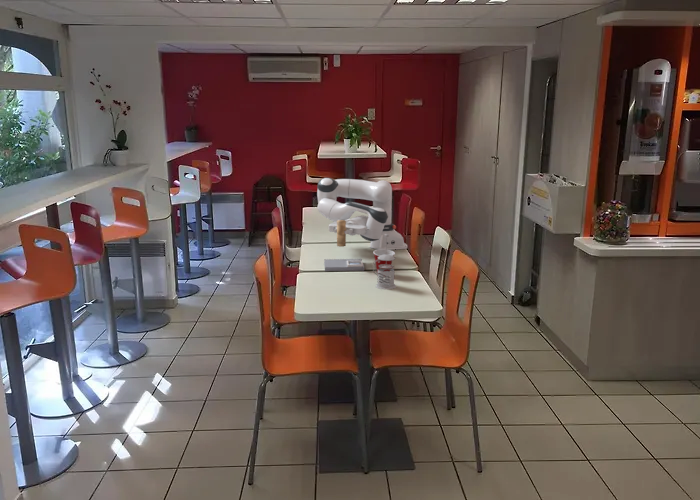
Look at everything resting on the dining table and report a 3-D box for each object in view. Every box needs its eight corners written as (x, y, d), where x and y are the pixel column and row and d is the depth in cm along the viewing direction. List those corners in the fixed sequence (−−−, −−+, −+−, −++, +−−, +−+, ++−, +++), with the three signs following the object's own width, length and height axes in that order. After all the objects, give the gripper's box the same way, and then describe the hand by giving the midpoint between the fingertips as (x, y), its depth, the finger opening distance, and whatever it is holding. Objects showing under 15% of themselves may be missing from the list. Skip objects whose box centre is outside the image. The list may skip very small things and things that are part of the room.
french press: (390, 290, 266) (391, 237, 260) (368, 286, 272) (368, 234, 266) (399, 285, 274) (401, 233, 268) (378, 281, 280) (379, 230, 274)
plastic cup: (379, 279, 284) (380, 255, 281) (368, 273, 293) (369, 250, 290) (398, 276, 289) (399, 252, 286) (387, 271, 298) (387, 248, 295)
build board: (361, 262, 314) (361, 257, 313) (364, 270, 299) (364, 264, 298) (324, 262, 313) (324, 257, 312) (324, 271, 297) (324, 265, 297)
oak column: (344, 244, 305) (344, 219, 302) (346, 246, 301) (346, 221, 298) (336, 244, 305) (336, 220, 301) (337, 246, 300) (337, 221, 297)
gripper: (370, 234, 308) (358, 239, 296) (336, 230, 317) (323, 235, 305) (370, 222, 307) (358, 227, 295) (336, 219, 316) (323, 223, 304)
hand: (340, 231), depth 300 cm, fingers closed on oak column, 4 cm apart
